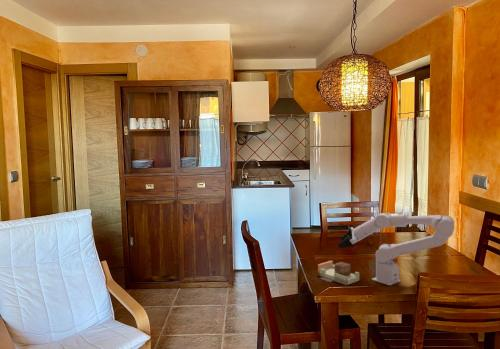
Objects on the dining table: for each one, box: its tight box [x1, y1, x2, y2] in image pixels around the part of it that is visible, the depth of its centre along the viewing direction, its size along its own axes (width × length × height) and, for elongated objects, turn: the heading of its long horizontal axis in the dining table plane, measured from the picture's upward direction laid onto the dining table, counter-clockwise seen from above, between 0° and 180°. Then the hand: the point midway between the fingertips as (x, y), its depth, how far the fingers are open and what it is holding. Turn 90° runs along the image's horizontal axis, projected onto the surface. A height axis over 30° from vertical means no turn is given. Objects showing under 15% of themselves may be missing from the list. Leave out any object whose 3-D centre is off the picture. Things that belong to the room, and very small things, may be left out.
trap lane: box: [317, 260, 361, 286], centre depth 179 cm, size 17×9×5 cm, turn 36°
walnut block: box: [334, 261, 352, 276], centre depth 177 cm, size 5×5×5 cm
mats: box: [319, 276, 335, 283], centre depth 179 cm, size 11×15×1 cm
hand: (340, 243), depth 183 cm, fingers open, 7 cm apart
